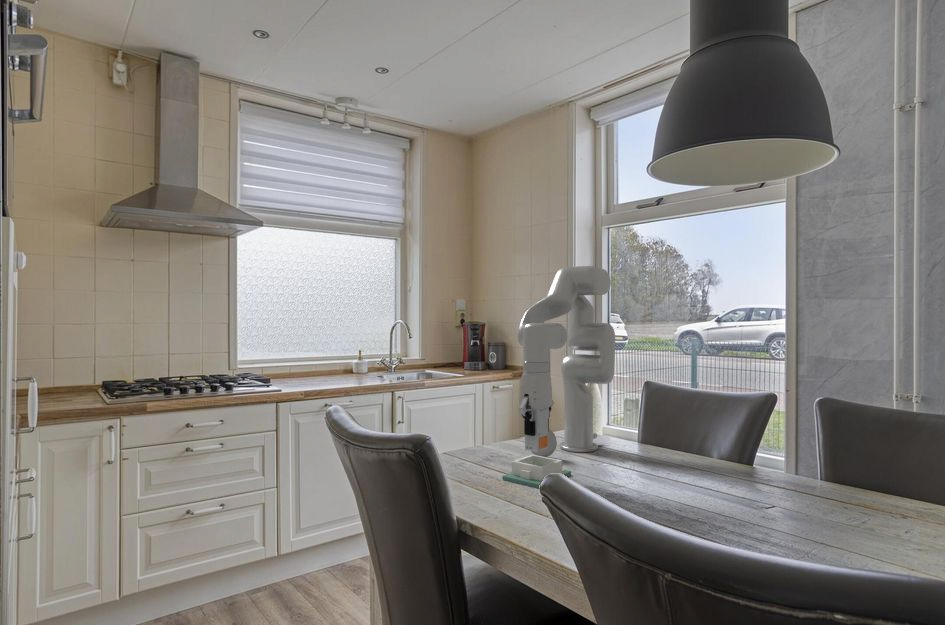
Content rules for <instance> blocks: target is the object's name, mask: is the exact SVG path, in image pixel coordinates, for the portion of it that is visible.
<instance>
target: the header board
mask: <svg viewBox="0 0 945 625" xmlns="http://www.w3.org/2000/svg"><path fill="white" fill-rule="evenodd" d="M550 473H562V474H564V475H565V476H567V477H569V476H571V475H572V470H567V469H564V468H563V459H558V458H553V457H549V456H548V457H542V456H537V455H534V454H530V455H527V456H524V457H521V458H518V459H515V460H512V461H511V472H509V473H507V474H504V475H502V479H503V481H506V480H507V482H510V481H511V483H514V482H515V484H519V485H522V486H527V485H528V487H532V488H535V489H536V488H537V489H540V488H539V485H540V484H541V482H542V481H543V479H544V477H545V476H546V475H548V474H550ZM568 475H569V476H568Z"/></svg>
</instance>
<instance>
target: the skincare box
mask: <svg viewBox="0 0 945 625" xmlns="http://www.w3.org/2000/svg"><path fill="white" fill-rule="evenodd" d="M528 409H531V407H528ZM529 414H530V415H531V412H529ZM548 418H549V417H548V407H547V408H538V409H537V410H536V411H535V416H534V420H533V421H535V436H530V435H525V434H524V450H525V451H530V452H531V451H535V452H538V451H541V450H544V449H547V448H548Z"/></svg>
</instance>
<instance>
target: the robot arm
mask: <svg viewBox="0 0 945 625" xmlns="http://www.w3.org/2000/svg"><path fill="white" fill-rule="evenodd" d="M611 281H612V280H611V276H610V273H609V272H608V271H607V270H606V269H605V268H601V267H598V266H592V265H582V266H579V265H578V266H566V267H562V268H560V269H558V271H557V272H556V273H555V276H554V278H553V281H552V283H551V285H550V288H549V289H548V292H547V295H546V296H545V297H544V298H542V299H541V300H539V301H537V302H536V303H534V304H533V305H532V306H530V308H528V309H527V310H526V311H525V313H523V316H522V319H521V320H520V323H519V326H518V330H517V335H516V336H517V341H518V343H519V345H520V346H521V347H522V357H523V358H522V359H523V361H522V366H523V367H522V369H523V370H522V372H523V373H522V374H521V378H520V387H519V399H518V400H519V407H518V411H519V412H520V414H521V416H522V419H523V422H524V423H523V424H524V428H523V429H524V431H523V432H524V433H523V434H524V436H525V435H530V436H535V421H533V420H534V416H535V411H536V410H537V409H538V408H547V407H548V432H549V429H550V417H551V412H552V408H553V406H554V403H555V402H554V401H553V390H552V389H553V387H552V378H551V350H557V349H561V348H562V347H563V346H565V345H566V343H567V344H568V347H569V348H570V349H571V350H575V351H581V352H583V351H585V352H599V354H585V353H584V354H581V353H580V354H578V353H577V354H576V353H575V354H568V355H566V356H565V357H563V358H562V359H561V360H562V361H561V363H560V369H561V370H560V372H561V376H562V382H563V416H564V417H563V426H564V427H563V428H564V431H563V437H564V438H563V439H564V441H561V442H560V443H559V448H560V449H561V450H563V451H567V452H573V453H574V452H575V453H590V452H594V451H597V450H598V448H599V447H598V444H597V443H595V442H594V439H597V438H598V434H597V433H596V432H594V414H593V413H594V411H593V410H594V409H593V408H594V405H593V404H594V400H593V399H594V398H593V394H592V393H593V392H592V391H591V389H589V387H588V385H587V384H595V385H597V384H599V385H608V384H611V382H612V381H613V380H614V375H615V360H616V333H615V329H614V327H613V326H612V325H611V324H610V323H607V322H594V319H595V309H594V306H593V304H592V303H591V302H590V300H589V299H588V298H587V297H586V296H602V295H606V294H607V293H608V292H609V291H610V290H611V289H610V288H611V283H612V282H611ZM566 314H568V321H567V322H568V324H567V329H566V327H565V326H564V325H563V324H561V323H558V322H547V321H550V320H553V319H557V318H559V317H562V316H564V315H566ZM528 407H531V409H528ZM529 412H531V415H530V414H529Z"/></svg>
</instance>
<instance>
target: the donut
mask: <svg viewBox="0 0 945 625" xmlns="http://www.w3.org/2000/svg"><path fill="white" fill-rule="evenodd" d="M557 446H558V441H557V437H556V435H555V433H554V432H553V431H552V429H551V428H549V432H548V448H547V449H544V450H541V451H538V452H535V451H530V452H531V453H532V455H537V456H542V457H548V458H549V457H550V456H552V454H554V453H555V451H556V449H557Z"/></svg>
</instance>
